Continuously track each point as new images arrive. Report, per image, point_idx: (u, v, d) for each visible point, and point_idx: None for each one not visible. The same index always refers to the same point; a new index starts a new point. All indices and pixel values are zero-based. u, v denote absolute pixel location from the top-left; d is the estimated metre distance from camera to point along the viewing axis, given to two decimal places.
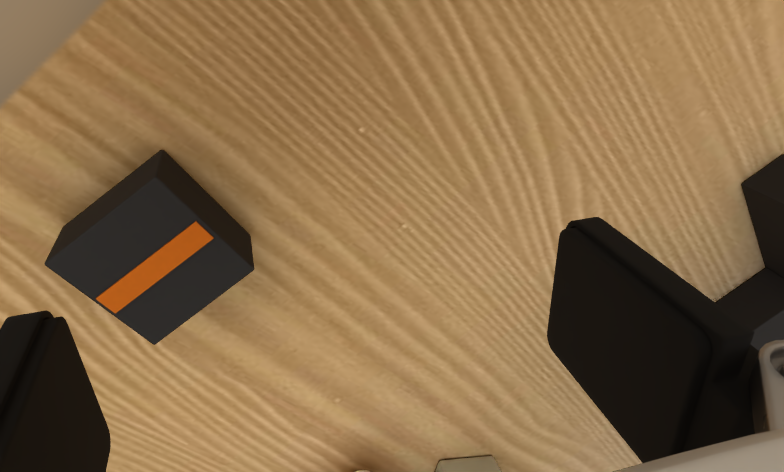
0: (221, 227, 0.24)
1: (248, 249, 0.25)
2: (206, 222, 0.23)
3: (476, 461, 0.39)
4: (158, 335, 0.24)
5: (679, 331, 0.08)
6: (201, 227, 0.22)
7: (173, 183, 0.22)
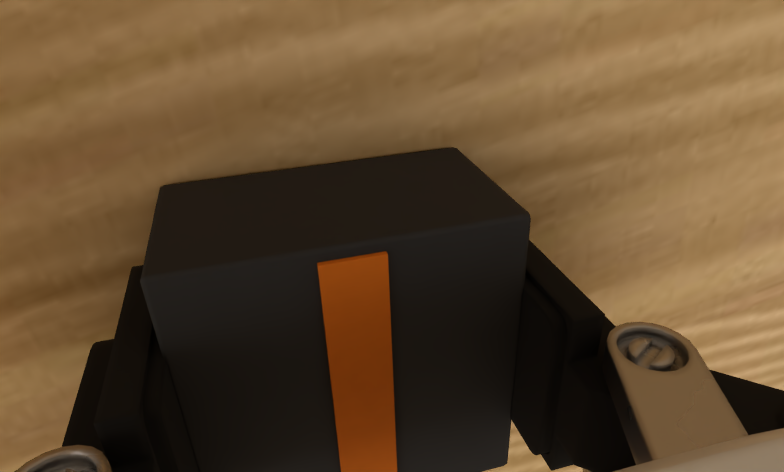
0: (383, 209, 0.09)
1: (477, 182, 0.10)
2: (340, 238, 0.08)
3: None
4: (496, 452, 0.11)
5: (541, 314, 0.09)
6: (341, 261, 0.08)
7: (204, 239, 0.08)
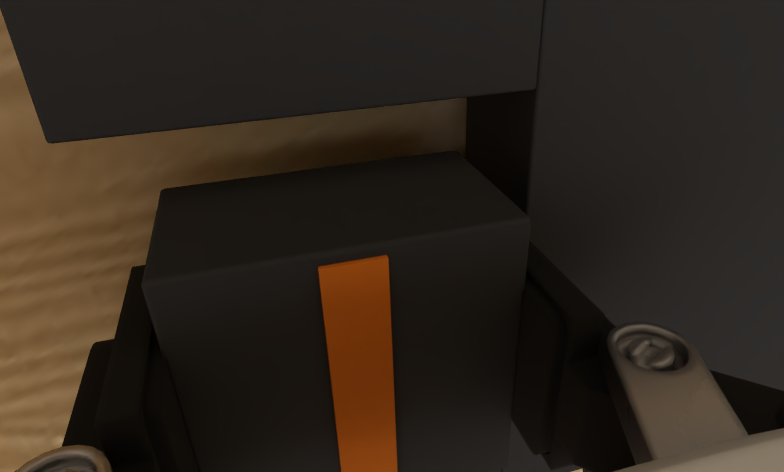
0: (383, 212, 0.09)
1: (477, 185, 0.10)
2: (340, 242, 0.08)
3: None
4: (497, 454, 0.11)
5: (541, 314, 0.09)
6: (341, 266, 0.08)
7: (205, 242, 0.08)
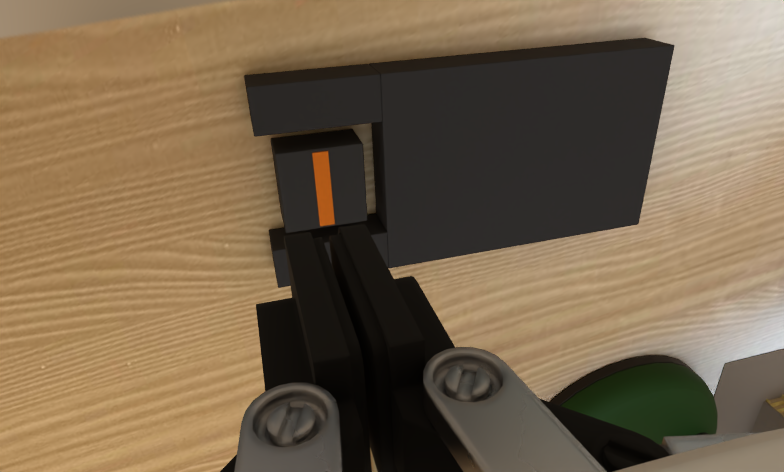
0: (328, 142, 0.36)
1: (353, 137, 0.37)
2: (317, 147, 0.36)
3: None
4: (363, 214, 0.38)
5: (368, 338, 0.08)
6: (317, 152, 0.35)
7: (286, 148, 0.36)
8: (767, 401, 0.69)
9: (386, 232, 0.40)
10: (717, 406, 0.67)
